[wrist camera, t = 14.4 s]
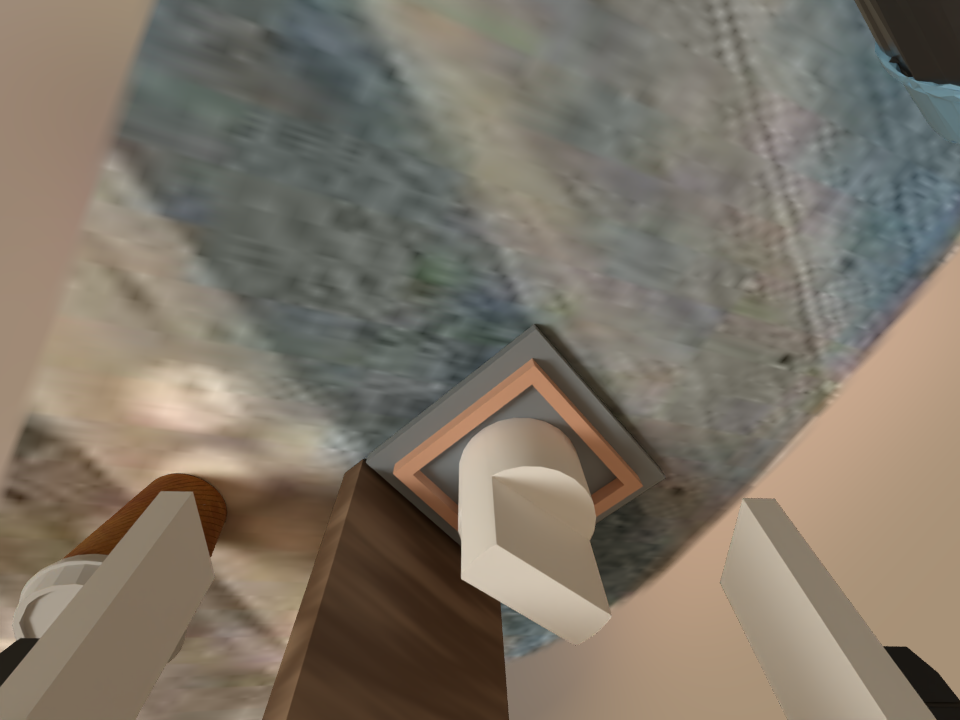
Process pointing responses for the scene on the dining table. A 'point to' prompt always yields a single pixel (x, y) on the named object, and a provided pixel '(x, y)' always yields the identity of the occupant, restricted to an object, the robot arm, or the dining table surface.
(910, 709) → the robot arm
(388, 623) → the brown wooden panel
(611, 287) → the dining table surface
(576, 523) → the cylinder with rectangular tab
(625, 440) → the square coaster tray
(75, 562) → the disposable coffee cup
